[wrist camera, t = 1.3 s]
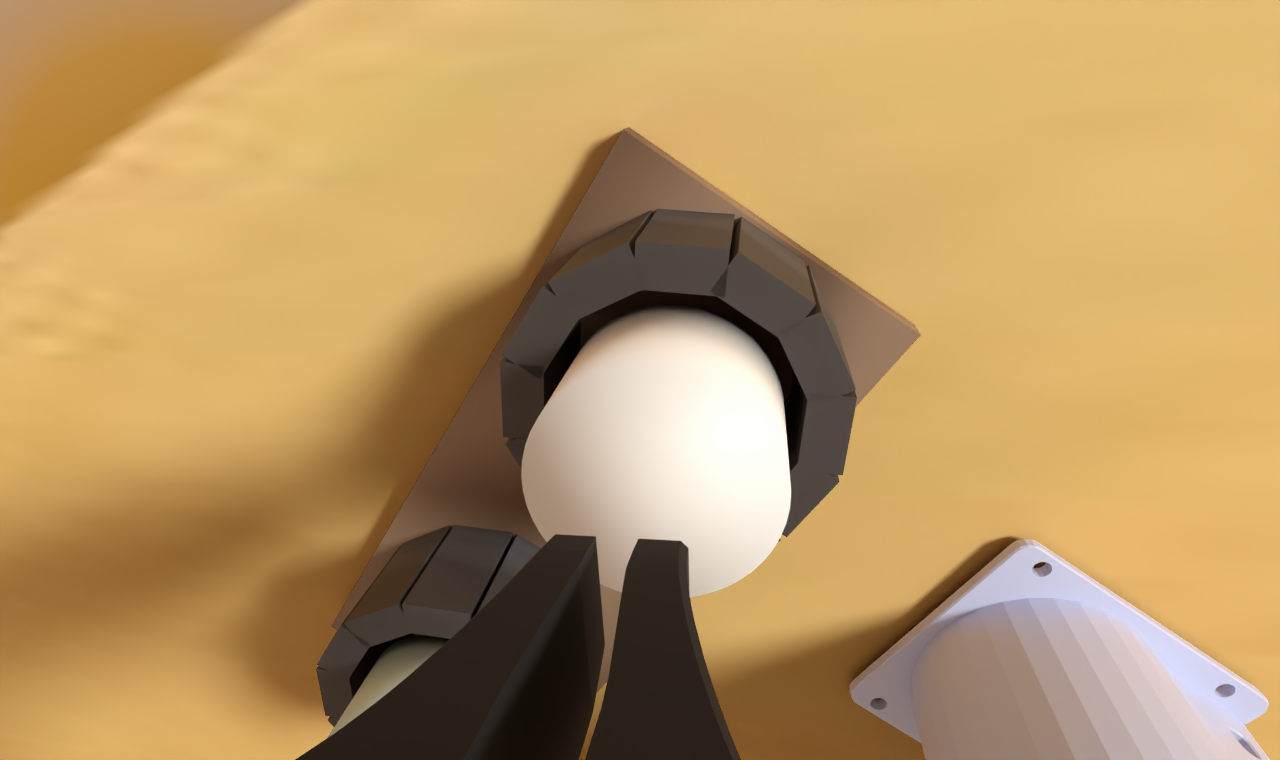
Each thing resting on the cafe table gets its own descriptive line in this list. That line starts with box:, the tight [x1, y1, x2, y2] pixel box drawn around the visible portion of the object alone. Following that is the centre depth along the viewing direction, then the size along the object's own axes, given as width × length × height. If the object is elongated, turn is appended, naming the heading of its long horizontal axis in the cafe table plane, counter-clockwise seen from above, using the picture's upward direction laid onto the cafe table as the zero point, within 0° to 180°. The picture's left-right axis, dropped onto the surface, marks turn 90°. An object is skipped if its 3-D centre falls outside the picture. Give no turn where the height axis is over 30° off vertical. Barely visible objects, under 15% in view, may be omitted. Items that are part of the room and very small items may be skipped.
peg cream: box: [521, 304, 791, 597], centre depth 15 cm, size 5×5×4 cm
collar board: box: [317, 127, 920, 727], centre depth 20 cm, size 9×20×4 cm, turn 147°
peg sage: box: [328, 635, 450, 738], centre depth 20 cm, size 5×5×4 cm
